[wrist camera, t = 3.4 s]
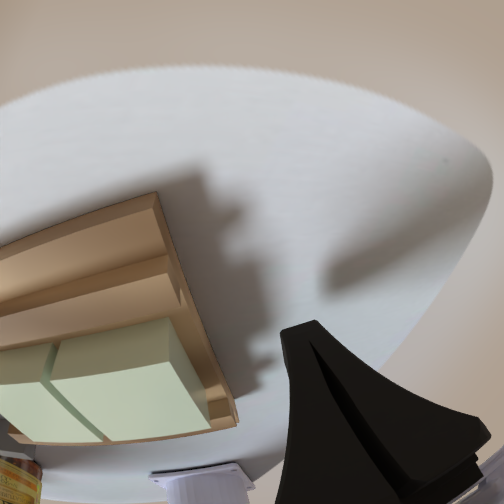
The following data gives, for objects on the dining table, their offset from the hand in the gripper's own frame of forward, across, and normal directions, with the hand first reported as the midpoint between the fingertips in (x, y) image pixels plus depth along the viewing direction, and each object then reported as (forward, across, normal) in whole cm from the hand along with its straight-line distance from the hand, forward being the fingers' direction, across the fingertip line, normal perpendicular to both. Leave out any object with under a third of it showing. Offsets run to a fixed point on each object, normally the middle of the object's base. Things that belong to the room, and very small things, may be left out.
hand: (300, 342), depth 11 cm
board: (+2, +10, 0) cm, 11 cm away
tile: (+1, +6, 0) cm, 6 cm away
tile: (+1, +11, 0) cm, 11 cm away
